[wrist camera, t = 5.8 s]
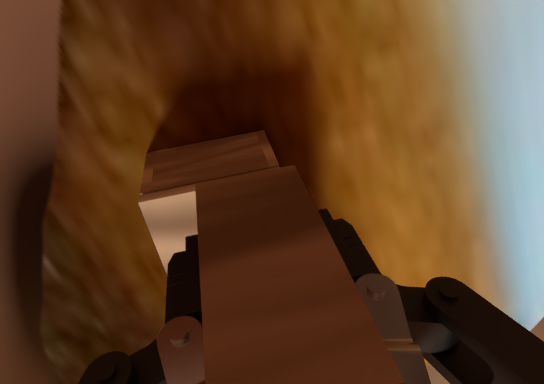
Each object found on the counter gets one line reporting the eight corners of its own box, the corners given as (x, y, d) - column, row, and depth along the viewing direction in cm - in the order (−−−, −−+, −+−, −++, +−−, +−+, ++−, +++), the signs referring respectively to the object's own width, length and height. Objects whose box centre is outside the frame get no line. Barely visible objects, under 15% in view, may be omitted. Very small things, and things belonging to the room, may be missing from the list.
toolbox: (146, 152, 34) (139, 193, 28) (263, 130, 35) (279, 164, 29) (192, 284, 44) (194, 332, 39) (282, 263, 45) (295, 307, 40)
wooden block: (194, 183, 14) (212, 512, 6) (294, 164, 15) (438, 447, 6) (214, 256, 17) (245, 568, 8) (299, 238, 17) (410, 517, 9)
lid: (139, 195, 28) (134, 223, 25) (279, 166, 29) (290, 190, 26) (194, 335, 38) (195, 366, 36) (296, 310, 39) (305, 338, 37)
